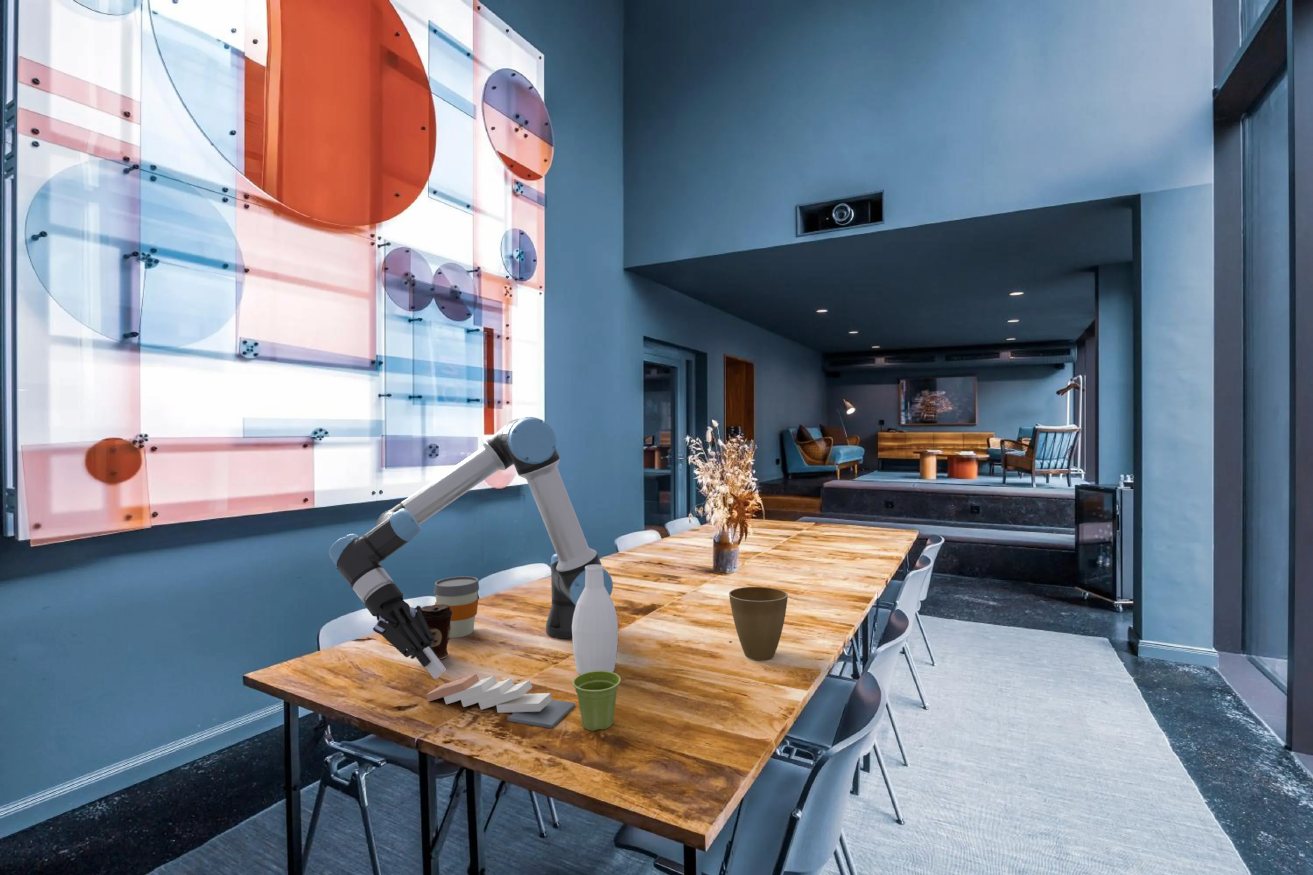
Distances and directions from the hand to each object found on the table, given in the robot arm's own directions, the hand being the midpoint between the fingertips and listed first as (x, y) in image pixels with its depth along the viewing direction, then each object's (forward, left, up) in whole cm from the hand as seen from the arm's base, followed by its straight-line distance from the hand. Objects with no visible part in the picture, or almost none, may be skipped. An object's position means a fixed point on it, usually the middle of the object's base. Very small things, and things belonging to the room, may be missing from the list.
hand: (440, 674), depth 129 cm
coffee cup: (+5, -25, -5) cm, 27 cm away
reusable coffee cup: (+2, -44, -5) cm, 45 cm away
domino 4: (-10, +6, -4) cm, 13 cm away
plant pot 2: (-77, -7, -5) cm, 77 cm away
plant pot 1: (-33, +20, -5) cm, 38 cm away
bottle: (-35, -6, -5) cm, 36 cm away
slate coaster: (-22, +13, -5) cm, 26 cm away
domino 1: (+1, -1, -4) cm, 4 cm away
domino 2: (-3, +2, -4) cm, 5 cm away
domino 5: (-14, +8, -4) cm, 17 cm away
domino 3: (-6, +4, -4) cm, 9 cm away
